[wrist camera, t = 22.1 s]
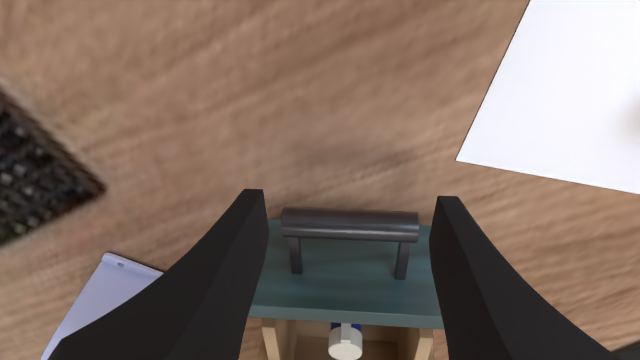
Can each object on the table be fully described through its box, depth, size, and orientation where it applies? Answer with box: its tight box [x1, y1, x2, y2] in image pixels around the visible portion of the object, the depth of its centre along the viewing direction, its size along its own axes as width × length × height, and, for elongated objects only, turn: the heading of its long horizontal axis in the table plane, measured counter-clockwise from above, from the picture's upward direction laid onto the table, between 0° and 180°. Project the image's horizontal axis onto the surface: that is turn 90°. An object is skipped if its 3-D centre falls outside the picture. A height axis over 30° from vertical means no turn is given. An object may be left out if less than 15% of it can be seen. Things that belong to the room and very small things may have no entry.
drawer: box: [248, 207, 445, 360], centre depth 27 cm, size 18×11×7 cm, turn 2°
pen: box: [328, 322, 362, 360], centre depth 27 cm, size 2×2×6 cm
